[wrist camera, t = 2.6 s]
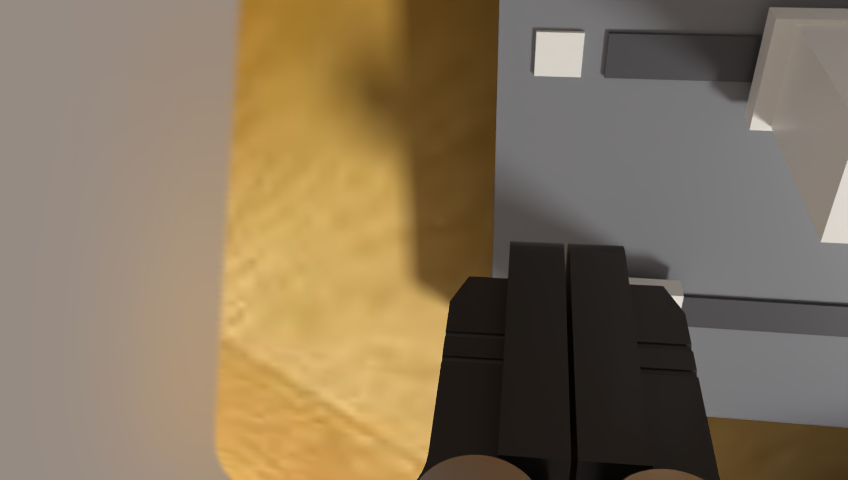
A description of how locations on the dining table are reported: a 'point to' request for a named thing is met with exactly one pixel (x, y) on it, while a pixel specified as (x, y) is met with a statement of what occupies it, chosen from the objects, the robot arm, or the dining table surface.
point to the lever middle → (807, 107)
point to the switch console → (675, 187)
